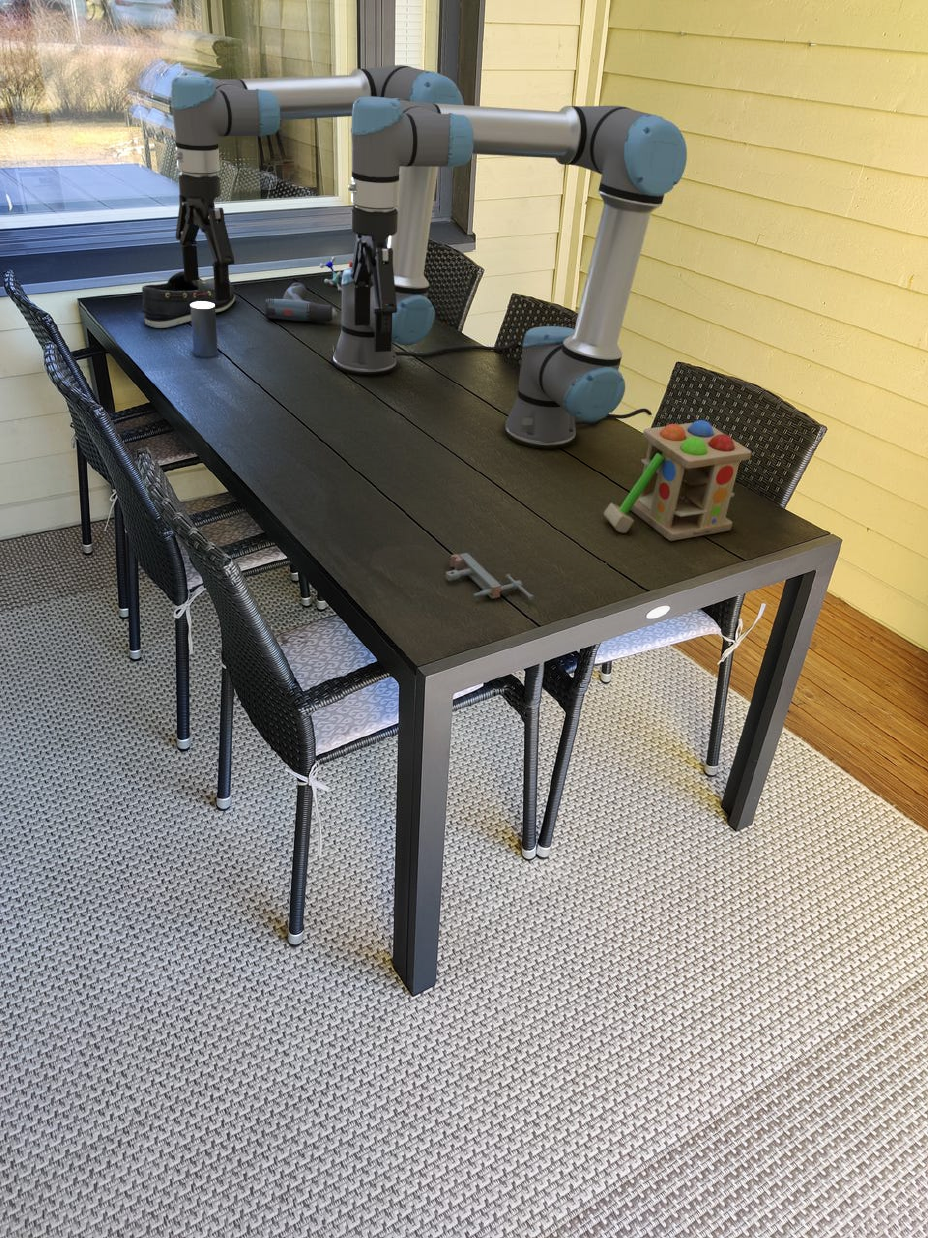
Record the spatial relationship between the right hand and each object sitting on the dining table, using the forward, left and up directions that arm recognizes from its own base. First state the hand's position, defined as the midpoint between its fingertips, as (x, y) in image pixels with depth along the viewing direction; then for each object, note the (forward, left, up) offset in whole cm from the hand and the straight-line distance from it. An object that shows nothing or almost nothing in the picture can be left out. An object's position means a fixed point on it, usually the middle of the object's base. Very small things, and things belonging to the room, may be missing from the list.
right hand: (372, 337), depth 169 cm
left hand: (+22, -38, -3) cm, 44 cm away
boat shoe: (+18, -107, -29) cm, 112 cm away
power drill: (-12, -103, -29) cm, 108 cm away
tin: (+19, -75, -29) cm, 83 cm away
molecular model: (-27, -126, -29) cm, 132 cm away
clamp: (-9, +38, -29) cm, 48 cm away
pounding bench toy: (-50, +24, -29) cm, 62 cm away
